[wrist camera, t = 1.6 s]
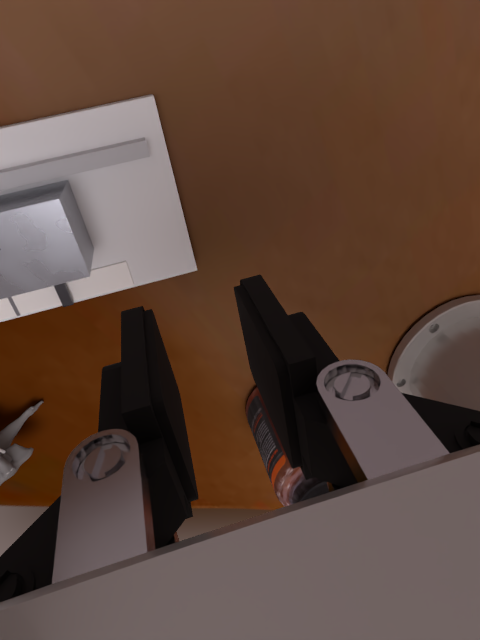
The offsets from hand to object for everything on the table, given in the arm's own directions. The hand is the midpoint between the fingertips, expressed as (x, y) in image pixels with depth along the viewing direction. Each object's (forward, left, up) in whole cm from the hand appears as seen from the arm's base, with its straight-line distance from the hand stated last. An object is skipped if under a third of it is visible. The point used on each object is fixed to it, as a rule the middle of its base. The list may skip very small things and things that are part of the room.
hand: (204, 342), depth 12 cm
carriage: (+7, +1, -16) cm, 17 cm away
